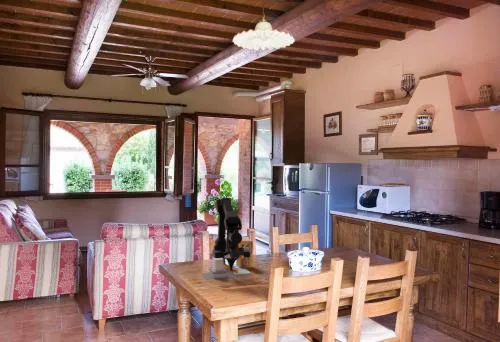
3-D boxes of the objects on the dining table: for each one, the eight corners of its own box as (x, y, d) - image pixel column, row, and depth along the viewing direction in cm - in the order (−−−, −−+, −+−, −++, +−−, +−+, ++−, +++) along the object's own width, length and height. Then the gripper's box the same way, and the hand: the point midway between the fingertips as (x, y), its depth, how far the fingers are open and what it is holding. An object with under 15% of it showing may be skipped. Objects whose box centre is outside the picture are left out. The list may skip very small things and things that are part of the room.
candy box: (250, 265, 250) (250, 239, 249) (252, 267, 246) (253, 240, 245) (235, 266, 247) (236, 240, 246) (238, 268, 243) (238, 241, 242)
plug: (209, 274, 226) (209, 257, 226) (223, 273, 228) (223, 256, 228) (213, 278, 219) (213, 260, 219) (226, 277, 222) (226, 259, 221)
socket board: (200, 275, 228) (200, 267, 228) (246, 271, 237) (246, 263, 237) (205, 282, 216) (205, 273, 216) (254, 277, 225) (254, 269, 225)
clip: (217, 265, 231) (217, 262, 231) (221, 264, 232) (221, 262, 232) (235, 273, 215) (235, 270, 215) (239, 272, 216) (239, 270, 216)
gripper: (218, 243, 208) (216, 275, 208) (254, 242, 214) (253, 274, 214) (212, 239, 219) (211, 270, 219) (247, 238, 224) (246, 268, 225)
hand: (230, 270), depth 219 cm, fingers closed
